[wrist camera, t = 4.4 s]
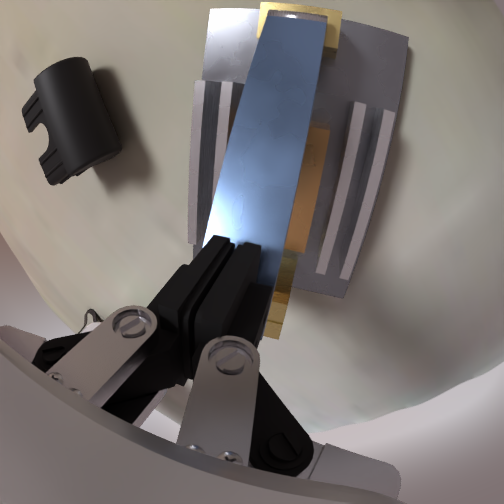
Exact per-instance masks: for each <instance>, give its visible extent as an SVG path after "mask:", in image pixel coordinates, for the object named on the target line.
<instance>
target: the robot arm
mask: <svg viewBox="0 0 504 504" xmlns="http://www.w3.org/2000/svg"><path fill="white" fill-rule="evenodd" d="M261 247H262V246H261V245H259V244H255V243H250V242H245V243H244V245H240V244H238V246H237V247H236V249H235V243H232V242H231V241H230V238H228V237H224V236H220V235H215V234H214V235H213V236H212V237H211V238H210V240H209V241H208V242H207V243H206V245H205V246H204V247H203V248H202V249H201V251H200V252H199V253H198V254H197V256H196V257H195V258H194V259H193V261H192V262H191V263H190V264H189V265H186V264H183V265H182V266H180V267H179V269H178V270H177V271H176V272H175V273H174V275H173V276H172V277H171V278H170V279H169V281H168V282H167V283H166V284H165V286H164V287H163V288H162V289H161V290H160V292H159V293H158V294H157V295H156V297H155V298H154V299H153V300H152V302H151V303H150V304H149V305H148V306H147V308H145V307H142V306H135V305H133V306H126V307H123V308H120V309H118V310H116V311H115V312H113V313H112V314H111V315H110V316H109V317H108V318H106V319H105V320H104V321H103V322H102V323H101V324H99V325H98V326H97V327H96V328H95V329H94V330H93V331H89V332H84V333H80V334H75V335H70V336H65V337H61V338H55V339H52V340H49V341H47V340H46V338H43V337H40V336H37V335H34V334H31V333H28V332H25V331H22V330H19V329H17V328H14V327H11V326H1V327H0V504H406V503H404V502H402V501H400V500H397V497H398V494H399V491H400V487H401V477H400V474H399V472H398V470H397V469H396V468H395V467H394V466H393V465H390V464H388V463H386V462H382V461H379V460H375V459H372V458H369V457H365V456H362V455H359V454H356V453H353V452H350V451H347V450H344V449H341V448H339V447H336V446H333V445H330V444H328V443H326V444H325V445H322V444H319V443H317V442H314V441H312V440H311V439H310V437H309V435H308V434H307V433H306V431H305V430H304V429H303V428H302V426H301V425H300V424H299V423H298V421H297V420H296V419H295V418H294V416H293V415H292V414H291V413H290V411H289V410H288V409H287V408H286V406H285V405H284V404H283V402H282V401H281V400H280V399H279V397H278V396H277V395H276V393H275V392H274V391H273V389H272V388H271V387H270V385H269V384H268V383H267V381H266V380H265V379H264V377H263V376H262V375H261V373H260V372H259V367H260V355H259V353H258V351H257V348H258V345H259V342H260V338H261V335H262V332H263V329H264V326H265V323H266V319H267V315H268V312H269V307H270V303H271V298H272V293H273V287H272V286H268V285H264V284H260V283H256V280H257V274H258V267H259V261H260V255H261ZM187 379H191V380H192V379H193V385H192V389H191V392H190V396H189V399H188V403H187V406H186V410H185V413H184V417H183V421H182V424H181V428H180V431H179V435H178V439H177V442H176V444H175V443H173V442H170V441H168V440H166V439H163V438H161V437H158V436H156V435H154V434H152V433H149V432H147V431H145V430H143V429H140V428H139V427H140V426H141V425H142V424H143V422H144V421H145V420H146V418H147V417H148V416H149V415H150V414H151V412H152V411H153V410H154V409H155V407H156V406H157V405H158V404H159V402H160V401H161V400H162V398H163V397H164V396H165V394H166V392H167V388H171V387H174V386H175V384H179V385H181V386H184V385H185V383H186V381H187Z"/></svg>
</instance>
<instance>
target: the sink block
mask: <svg viewBox="0 0 504 504" xmlns="http://www.w3.org/2000/svg"><path fill="white" fill-rule="evenodd" d="M269 9H276V10H288V11H297V12H305V13H313V14H319V15H325V16H328V22H327V30H326V36H325V42H324V48H323V54H322V60H321V66H320V72H319V78H318V83H317V89H316V95H315V100H314V106H313V111H312V117H311V122H310V127H309V132H308V138H307V143H306V148H305V153H304V158H303V163H302V168H301V173H300V178H299V182H298V187H297V192H296V197H295V201H294V206H293V211H292V215H291V220H290V225H289V229H288V234H287V238H286V243H285V247H284V251H283V256H282V260H281V265H280V269H279V273H278V277H277V282H276V286H275V290H274V294H273V299H272V303H271V307H270V311H269V315H268V319H267V323H266V327H265V331H264V335H263V336H266V337H270V338H274V339H278V340H279V336H280V332H281V328H282V325H283V321H284V317H285V313H286V309H287V305H288V301H289V297H290V291H291V287H295V288H299V289H303V290H308V291H312V292H317V293H321V294H325V295H330V296H334V297H339V298H344V295H345V293H346V290H347V287H348V285H349V282H350V279H351V277H352V274H353V271H354V268H355V266H356V263H357V260H358V257H359V254H360V251H361V248H362V245H363V242H364V239H365V236H366V233H367V230H368V226H369V223H370V220H371V217H372V213H373V210H374V207H375V203H376V200H377V196H378V193H379V189H380V185H381V182H382V178H383V174H384V170H385V166H386V162H387V158H388V154H389V150H390V146H391V141H392V137H393V132H394V127H395V123H396V118H397V112H398V107H399V102H400V96H401V90H402V84H403V78H404V71H405V64H406V57H407V48H408V39H409V37H406V36H403V35H400V34H397V33H394V32H391V31H387V30H384V29H380V28H377V27H373V26H369V25H365V24H361V23H357V22H353V21H348V20H343V19H341V17H342V11H337V10H331V9H325V8H319V7H312V6H304V5H296V4H286V3H272V2H261V8H260V9H211V10H210V17H209V24H208V31H207V39H206V47H205V56H204V65H203V74H202V80H195V88H194V100H193V113H192V127H191V144H190V165H189V194H188V243H190V244H193V259H194V258H195V257H196V256H197V254H198V253H199V252H200V251H201V249H202V248H203V244H204V239H205V235H206V230H207V226H208V222H209V217H210V213H211V209H212V205H213V200H214V196H215V192H216V188H217V184H218V180H219V176H220V172H221V168H222V165H223V161H224V157H225V153H226V149H227V146H228V142H229V138H230V134H231V131H232V127H233V124H234V120H235V116H236V113H237V109H238V106H239V103H240V99H241V96H242V92H243V89H244V86H245V82H246V79H247V76H248V72H249V69H250V66H251V63H252V60H253V56H254V53H255V50H256V47H257V44H258V41H259V38H260V35H261V32H262V29H263V26H264V23H265V20H266V17H267V13H268V10H269Z"/></svg>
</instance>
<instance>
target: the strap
mask: <svg viewBox="0 0 504 504" xmlns="http://www.w3.org/2000/svg"><path fill="white" fill-rule="evenodd" d="M327 22H328V16H325V15H319V14H313V13H305V12H297V11H288V10H276V9H269V10H268V13H267V17H266V20H265V23H264V26H263V29H262V32H261V35H260V38H259V41H258V44H257V47H256V50H255V53H254V56H253V60H252V63H251V66H250V69H249V72H248V76H247V79H246V82H245V86H244V89H243V92H242V96H241V99H240V103H239V106H238V109H237V113H236V116H235V120H234V124H233V127H232V131H231V134H230V138H229V142H228V146H227V149H226V153H225V157H224V161H223V165H222V168H221V172H220V176H219V180H218V184H217V188H216V192H215V196H214V200H213V205H212V209H211V213H210V217H209V222H208V226H207V230H206V235H205V239H204V244H203V247H204V246H205V245H206V243H207V242H208V241H209V240H210V238H211V237H212V236H213V235H214V234H215V235H220V236H224V237H228V238H230V241H231V242H232V243H235V249H236V247H237V246H238V244H240V245H244V243H245V242H250V243H255V244H259V245H261V246H262V247H261V255H260V261H259V267H258V274H257V280H256V283H260V284H264V285H268V286H272V287H273V293H272V298H271V303H272V299H273V294H274V290H275V286H276V282H277V277H278V273H279V269H280V265H281V260H282V256H283V251H284V247H285V243H286V238H287V234H288V229H289V225H290V220H291V215H292V211H293V206H294V201H295V197H296V192H297V187H298V182H299V178H300V173H301V168H302V163H303V158H304V153H305V148H306V143H307V138H308V132H309V127H310V122H311V117H312V111H313V106H314V100H315V95H316V89H317V83H318V78H319V72H320V66H321V60H322V54H323V48H324V42H325V36H326V30H327ZM271 303H270V307H271ZM270 307H269V311H270ZM268 315H269V312H268ZM268 315H267V319H268ZM267 319H266V323H267ZM266 323H265V326H264V329H263V332H262V335H261V338H260V340H262V337H263V335H264V331H265V327H266Z"/></svg>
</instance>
